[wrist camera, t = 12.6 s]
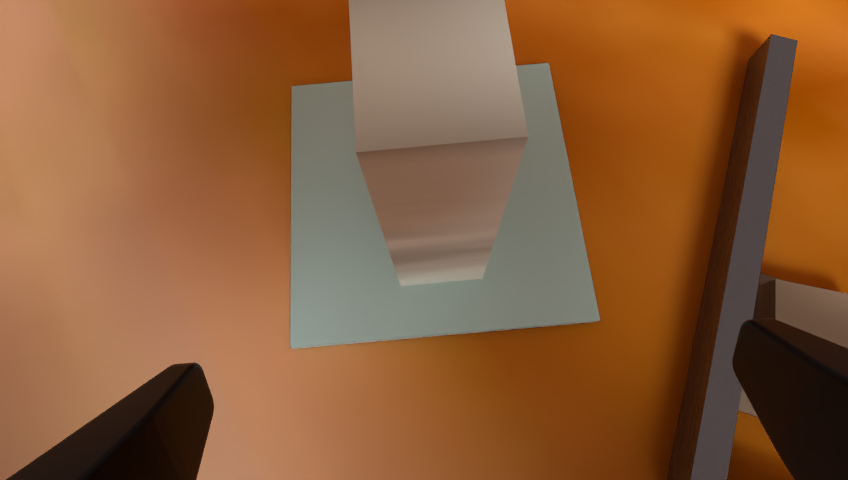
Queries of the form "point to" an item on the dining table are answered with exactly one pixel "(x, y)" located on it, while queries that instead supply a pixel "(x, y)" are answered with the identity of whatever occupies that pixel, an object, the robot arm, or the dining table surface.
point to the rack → (734, 268)
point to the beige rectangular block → (436, 129)
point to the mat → (369, 256)
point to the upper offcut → (806, 309)
